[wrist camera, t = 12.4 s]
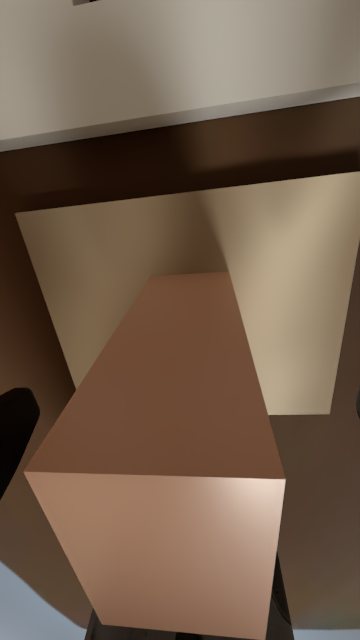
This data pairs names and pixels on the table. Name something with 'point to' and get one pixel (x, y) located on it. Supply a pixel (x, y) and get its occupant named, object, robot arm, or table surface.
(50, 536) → the table surface
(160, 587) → the plug
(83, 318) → the pad
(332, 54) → the white slotted plate
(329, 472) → the table surface
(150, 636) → the electronic device
